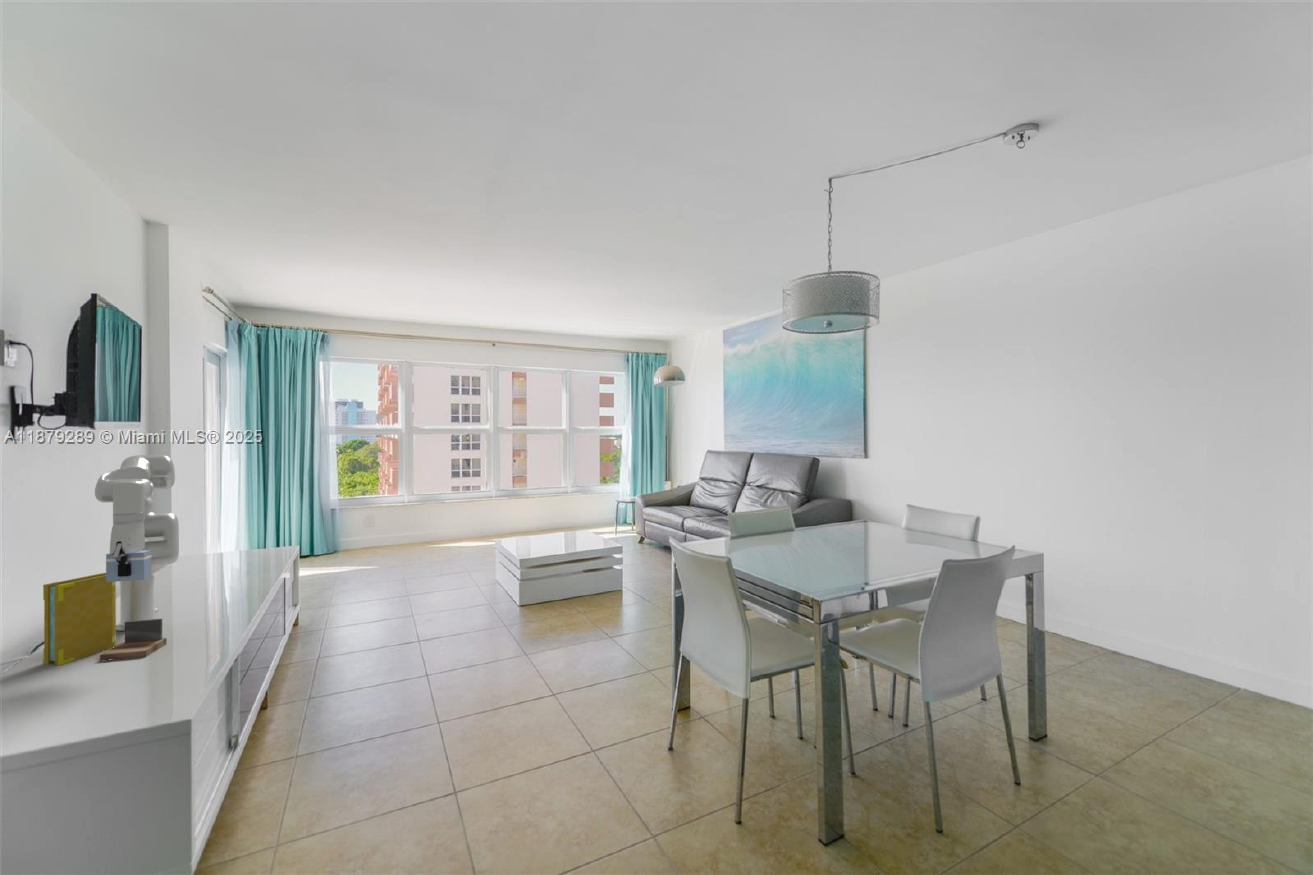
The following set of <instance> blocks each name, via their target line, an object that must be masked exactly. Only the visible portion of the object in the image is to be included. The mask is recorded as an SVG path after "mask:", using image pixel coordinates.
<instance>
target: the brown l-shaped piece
mask: <svg viewBox="0 0 1313 875" xmlns="http://www.w3.org/2000/svg"><path fill="white" fill-rule="evenodd" d="M165 645H167V637H163V618H159V619H150V620H138V621H126V622H125V631H124V641H123V642H120V643H119V644H116V646H115V647H114V648H111V649H108V650H105V651H103V652H102V653H101V654H99V661H100V662H103V661H102V660H107V661H110V660H109V659H118V660H126V658H128V659H136V657H137V659H139V658H146V656H147V655H148V656H150V655H151V654H153V653H155V652H157V651H158V650H159V649H161V648H162V647H164V646H165ZM148 656H147V657H148ZM138 657H139V658H138Z"/></svg>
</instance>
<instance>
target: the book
mask: <svg viewBox="0 0 1313 875" xmlns="http://www.w3.org/2000/svg"><path fill="white" fill-rule="evenodd" d="M42 588H43V589H42V590H43V591H42V593H43V594H42V597H43V598H42V600H43V602H44V603H43V606H44V610H43V612H44V613H43V614H44V615H43V616H44V618H43V621H44V623H43V624H44V628H43V630H44V631H43V632H44V636H43V638H44V641H43V642H44V643H43V645H44V647H43V649H42V651H43V654H42V655H43V656H42V657H43V659H42V660H43V661H42V663H43V664H44V665H50V664H53V663H54V665H55V666H61V665H62V666H63V665H66V664H68V663H72V662H74V661H76V660H80V659H84V658H86V657H90V656H91V655H94V654H98V653H101V651H102V652H104V651H103V650H105V651H108V650H110V648H111V649H112V648H113V647H115V646H117V630H116V625H117V614H116V613H117V582H106V572H103V573H96V574H93V575H87V576H81V577H77V578H72V579H66V580H61V581H56V582H51V583H49V582H48V583H44V584H43V585H42Z"/></svg>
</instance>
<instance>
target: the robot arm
mask: <svg viewBox="0 0 1313 875" xmlns="http://www.w3.org/2000/svg"><path fill="white" fill-rule="evenodd" d="M175 474H176V473H175V464H174V461H173V460H172V458H171V457H169V456H168V455H163V454H157V455H156V454H152V455H151V454H149V455H147V454H146V455H141V454H140V455H139V454H138V455H132V456H128V457H126V458H125V459H123V461H122V462H121V465H120V468H118V469H115V470H111V471H109V472H106V473H103V474H102V475H100V476H99V478H98V479H97V481H96V484H95V488H94V495H95V498H96V500H97V501H98V502H101V503H112V527H111V531H110V532H111V533H110V541H109V553H110V554H111V555H113V558H114V559H116V561H117V565H118V577H122V576H130V575H131V563H129V561H130V554H131V553H134V552H137V551H142V550H151V567H156V566H164V565H171V564H174V563H176V562H177V561H178V560H179V556H180V525H179V518H178V516H177V515H176V514H175V513H173V512H159V513H156V512H154V511H155V510H154V506H155V502H154V500H153V499H152V498H151V497H152V496H153V495H154V493H155V491H156V490H166V489H167V490H168V489H170V488H172V487H174V485H175V482H176V475H175ZM157 538H161V539H162V540H150V541H146V540H147V539H157ZM122 552H123V553H125V554H121V553H122ZM122 556H126V559H125V558H124V557H122ZM119 584H120V585H119V586H120V589H119V590H120V597H119V598H120V602H119V603H120V605H119V608H120V609H119V610H120V614H119V616H120V617H119V618H120V621H119V623H116V632H117V631H119V632H125V622H126V621H138V620H150V619H160V617H156V616H155V614H157V613H159V610H160V609H159V608H157V607H155V605H156V604H155V603H156V602H155V600H156V599H155V597H156V596H155V594H156V593H155V591H156V590H155V588H156V587H155V586H156V585H155V584H156V583H155V576H154V574H153V573H152V572H151V577H150V578H148V579H145V580H135V581H119Z"/></svg>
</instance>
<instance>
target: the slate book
mask: <svg viewBox="0 0 1313 875" xmlns="http://www.w3.org/2000/svg"><path fill="white" fill-rule="evenodd" d="M121 554H125V553H123V552H122V553H121ZM122 557H124V558H125V559H126V556H122ZM129 563H131V575H130V576H122V577H118V565H117V561H116V559H114V558H113V555H111V554H110V552H109V553H106V555H105V573H106V582H116V583H117V582H120V581H135V580H145V579H148V578H150V577H151V573H152V566H151V550H142V551H137V552H134V553H131V554H130V561H129Z"/></svg>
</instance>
